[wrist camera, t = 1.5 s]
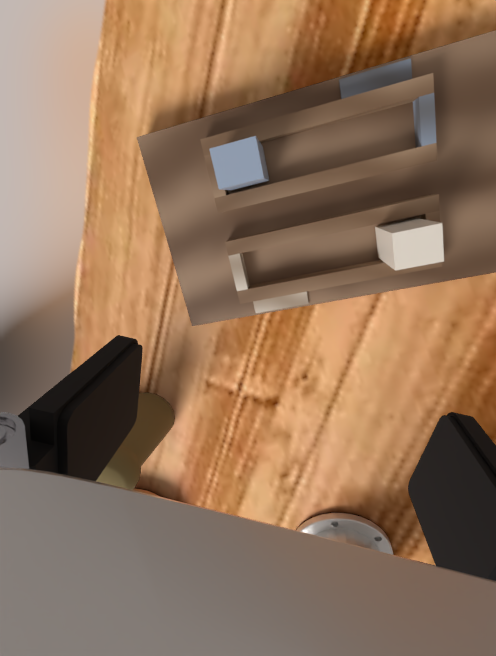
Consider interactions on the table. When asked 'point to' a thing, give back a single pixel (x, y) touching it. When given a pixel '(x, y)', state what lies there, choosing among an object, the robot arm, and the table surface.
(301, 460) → the table surface
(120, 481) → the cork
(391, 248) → the cream tab
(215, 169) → the slate-blue tab
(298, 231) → the switch board
